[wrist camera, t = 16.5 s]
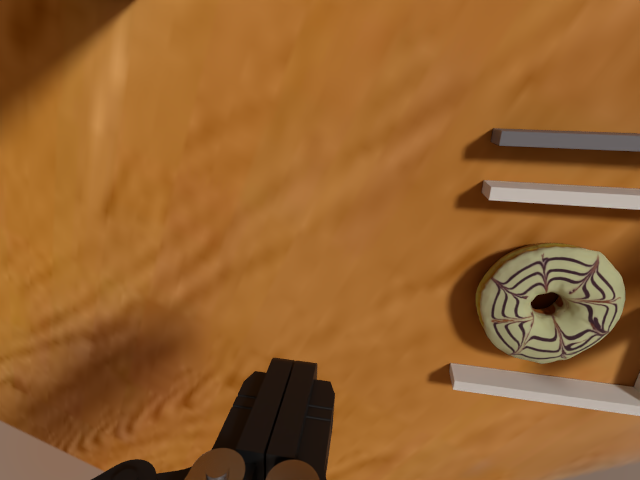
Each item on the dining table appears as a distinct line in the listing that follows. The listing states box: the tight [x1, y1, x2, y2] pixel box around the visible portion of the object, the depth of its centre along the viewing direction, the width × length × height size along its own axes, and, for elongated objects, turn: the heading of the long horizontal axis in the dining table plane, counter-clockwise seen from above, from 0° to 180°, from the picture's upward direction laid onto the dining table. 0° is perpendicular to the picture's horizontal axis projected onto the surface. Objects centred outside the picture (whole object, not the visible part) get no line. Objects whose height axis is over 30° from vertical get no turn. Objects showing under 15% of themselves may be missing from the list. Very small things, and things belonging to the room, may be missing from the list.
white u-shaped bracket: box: [449, 180, 640, 416], centre depth 27 cm, size 18×19×12 cm
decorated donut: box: [476, 243, 625, 364], centre depth 31 cm, size 10×11×4 cm
